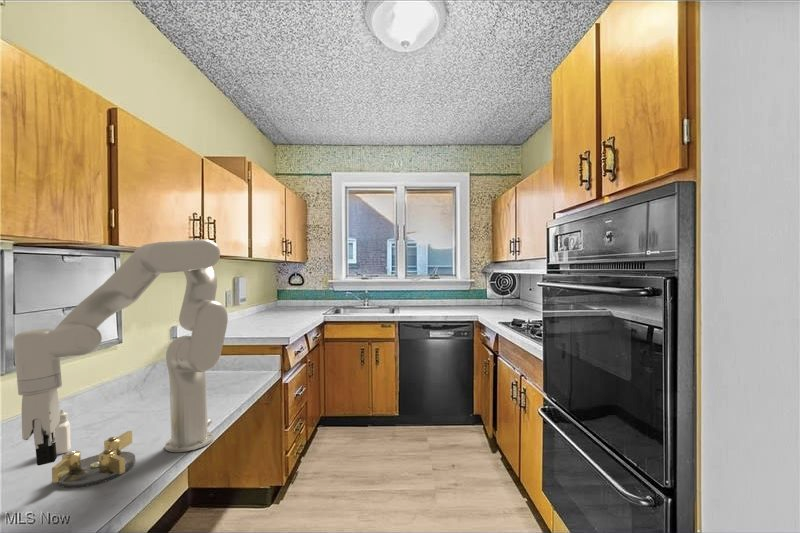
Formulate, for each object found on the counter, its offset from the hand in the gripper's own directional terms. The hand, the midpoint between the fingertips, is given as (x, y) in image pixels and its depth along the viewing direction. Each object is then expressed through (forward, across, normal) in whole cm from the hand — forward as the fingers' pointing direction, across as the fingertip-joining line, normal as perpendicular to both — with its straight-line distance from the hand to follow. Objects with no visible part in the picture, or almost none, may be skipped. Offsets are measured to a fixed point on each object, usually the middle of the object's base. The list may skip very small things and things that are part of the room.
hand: (47, 462), depth 93 cm
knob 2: (+7, -14, +12) cm, 20 cm away
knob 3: (+6, -1, +12) cm, 14 cm away
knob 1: (+6, -5, +2) cm, 8 cm away
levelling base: (+8, -7, +8) cm, 13 cm away
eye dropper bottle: (+8, -29, -3) cm, 31 cm away
